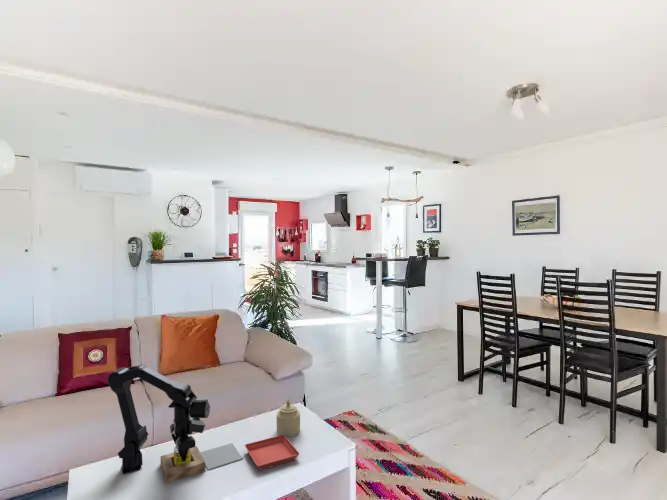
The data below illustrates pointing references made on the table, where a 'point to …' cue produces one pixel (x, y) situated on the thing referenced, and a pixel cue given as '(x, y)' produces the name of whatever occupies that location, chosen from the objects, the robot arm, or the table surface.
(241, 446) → the table surface
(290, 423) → the sugar bowl
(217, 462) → the slate mat
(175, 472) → the holder block
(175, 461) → the pill bottle
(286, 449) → the plant saucer
